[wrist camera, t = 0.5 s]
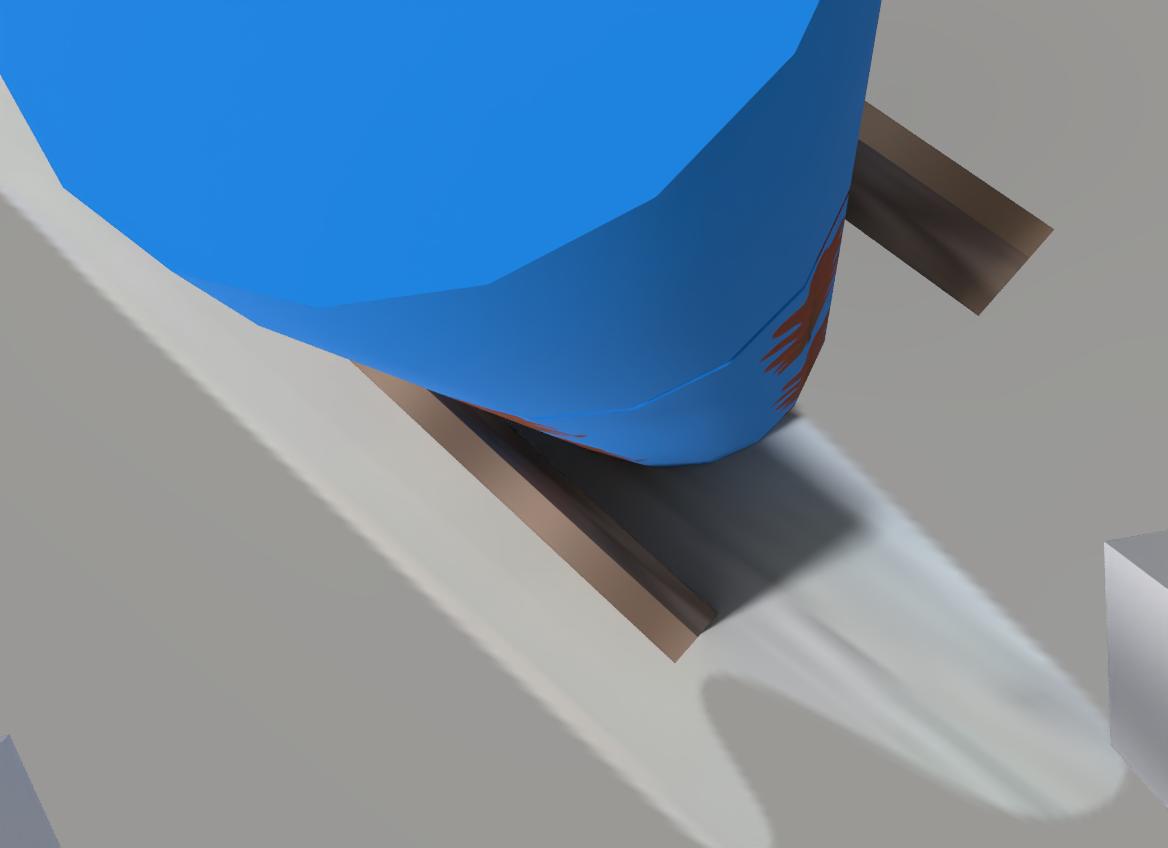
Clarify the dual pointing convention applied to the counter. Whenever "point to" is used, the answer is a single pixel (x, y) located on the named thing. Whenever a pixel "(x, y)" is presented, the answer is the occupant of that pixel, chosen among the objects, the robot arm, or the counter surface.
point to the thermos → (484, 188)
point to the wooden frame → (875, 206)
